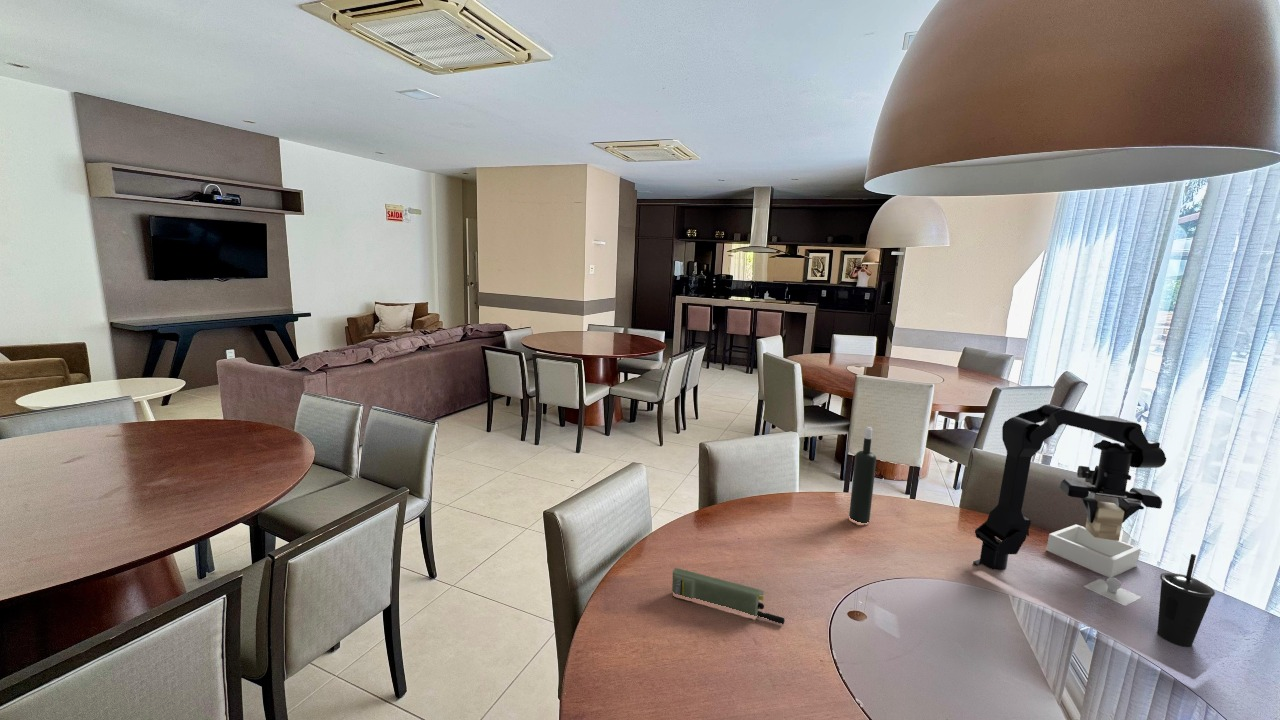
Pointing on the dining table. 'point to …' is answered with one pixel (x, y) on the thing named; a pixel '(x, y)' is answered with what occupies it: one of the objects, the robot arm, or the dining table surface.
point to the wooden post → (1106, 521)
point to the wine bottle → (863, 481)
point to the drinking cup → (1182, 606)
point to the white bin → (1100, 563)
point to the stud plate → (1112, 591)
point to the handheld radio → (720, 593)
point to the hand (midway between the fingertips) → (1103, 524)
